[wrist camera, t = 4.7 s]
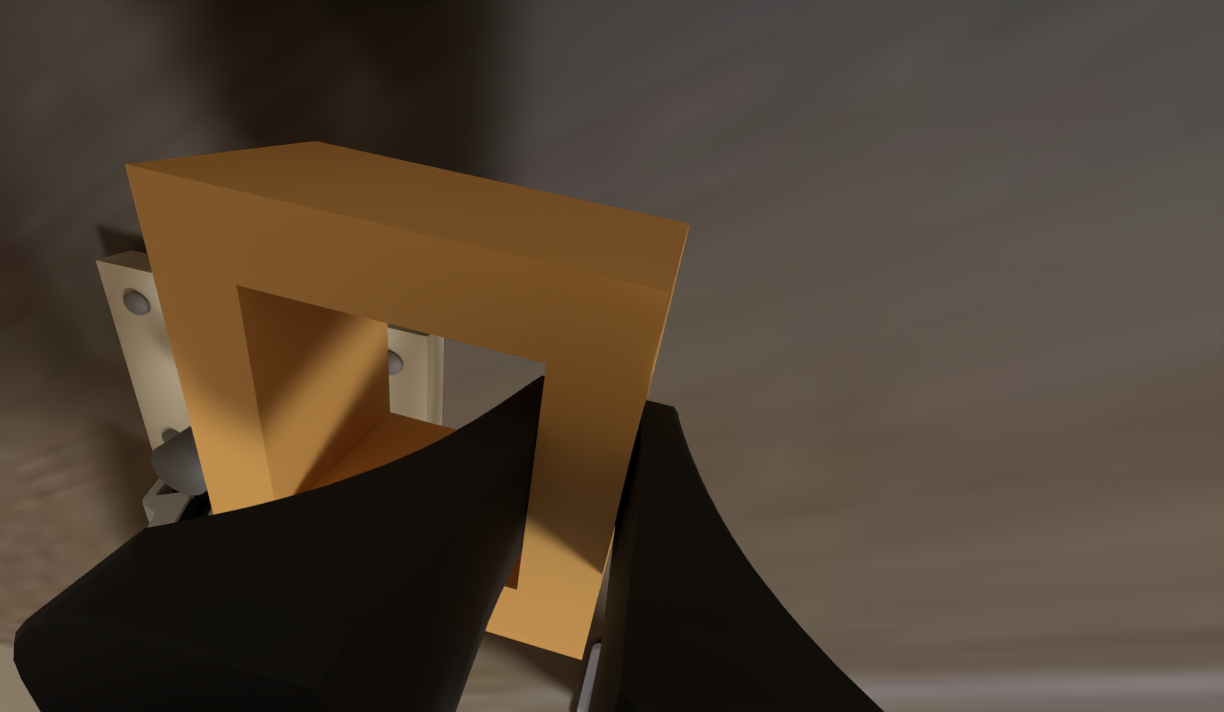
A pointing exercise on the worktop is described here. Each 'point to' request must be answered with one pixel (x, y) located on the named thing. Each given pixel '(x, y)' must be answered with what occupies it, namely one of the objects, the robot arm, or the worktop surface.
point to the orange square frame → (415, 299)
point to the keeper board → (160, 389)
